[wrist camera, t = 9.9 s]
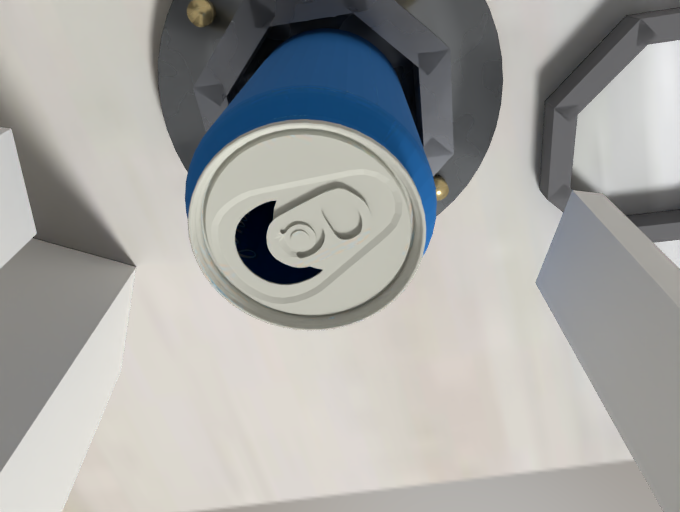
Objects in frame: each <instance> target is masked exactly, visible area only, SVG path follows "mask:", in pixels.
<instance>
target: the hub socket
mask: <svg viewBox="0 0 680 512" xmlns="http://www.w3.org/2000/svg"><path fill="white" fill-rule="evenodd" d="M323 28H331V29H340V30H344V31H348V32H351V33H354V34H356V35H359V36H361V37H362V38H364V39H366V40H368V41H369V42H370V43H372V44H373V45H374V46H376V47H377V48H378V49H379V50H380V51H381V52H382V53H383V54H384V55H385V56H386V58H387V59H388V60H389V62H390V63H391V65H392V66H393V68H394V70H395V72H396V74H397V76H398V79H399V81H400V84H401V87H402V90H403V92H404V95H405V98H406V101H407V104H408V106H409V109H410V112H411V115H412V118H413V120H414V123H415V126H416V129H417V132H418V134H419V137H420V140H421V143H422V146H423V148H424V151H425V154H426V157H427V160H428V162H429V165H430V168H431V171H432V174H433V179H434V183H435V187H436V198H437V208H436V216H437V215H438V214H440V213H441V212H442V211H443V210H444V209H445V208H446V207H447V206H448V205H450V204H451V203H452V202H453V201H454V200H455V199H456V198H457V196H458V195H459V194H460V193H461V192H462V190H463V189H464V188H465V187H466V186H467V184H468V183H469V182H470V180H471V179H472V177H473V175H474V174H475V172H476V171H477V169H478V168H479V166H480V164H481V162H482V160H483V158H484V156H485V154H486V152H487V150H488V148H489V146H490V143H491V140H492V137H493V134H494V131H495V128H496V125H497V120H498V116H499V111H500V106H501V97H502V85H503V73H502V56H501V50H500V45H499V39H498V34H497V30H496V27H495V24H494V21H493V18H492V15H491V12H490V9H489V7H488V5H487V3H486V1H485V0H173V2H172V5H171V7H170V9H169V12H168V14H167V18H166V21H165V25H164V29H163V33H162V37H161V43H160V51H159V59H158V86H159V93H160V101H161V108H162V112H163V116H164V119H165V123H166V127H167V130H168V133H169V135H170V138H171V140H172V143H173V145H174V148H175V150H176V152H177V154H178V156H179V158H180V159H181V161H182V163H183V165H184V167H185V169H186V170H187V171H188V170H189V166H190V163H191V160H192V158H193V155H194V152H195V150H196V148H197V147H198V145H199V143H200V141H201V140H202V138H203V136H204V135H205V134H206V132H207V131H208V130H209V129H210V127H211V126H212V125H213V124H214V122H215V121H216V120H217V119H218V117H219V116H220V115H221V114H222V113H223V111H224V110H225V109H226V108H227V106H228V105H229V104H230V103H231V101H232V100H233V99H234V98H235V97H236V95H237V94H238V93H239V92H240V90H241V89H242V88H243V87H244V85H245V84H246V83H247V82H248V81H249V79H250V78H251V77H252V76H253V74H254V73H255V72H256V71H257V70H258V68H259V67H260V66H261V65H262V63H263V62H264V61H265V60H266V58H267V57H268V56H269V55H270V54H271V52H272V51H273V50H274V49H276V48H277V47H278V46H279V45H280V44H281V43H283V42H284V41H286V40H287V39H289V38H291V37H293V36H295V35H296V34H299V33H302V32H305V31H308V30H314V29H323Z"/></svg>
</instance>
